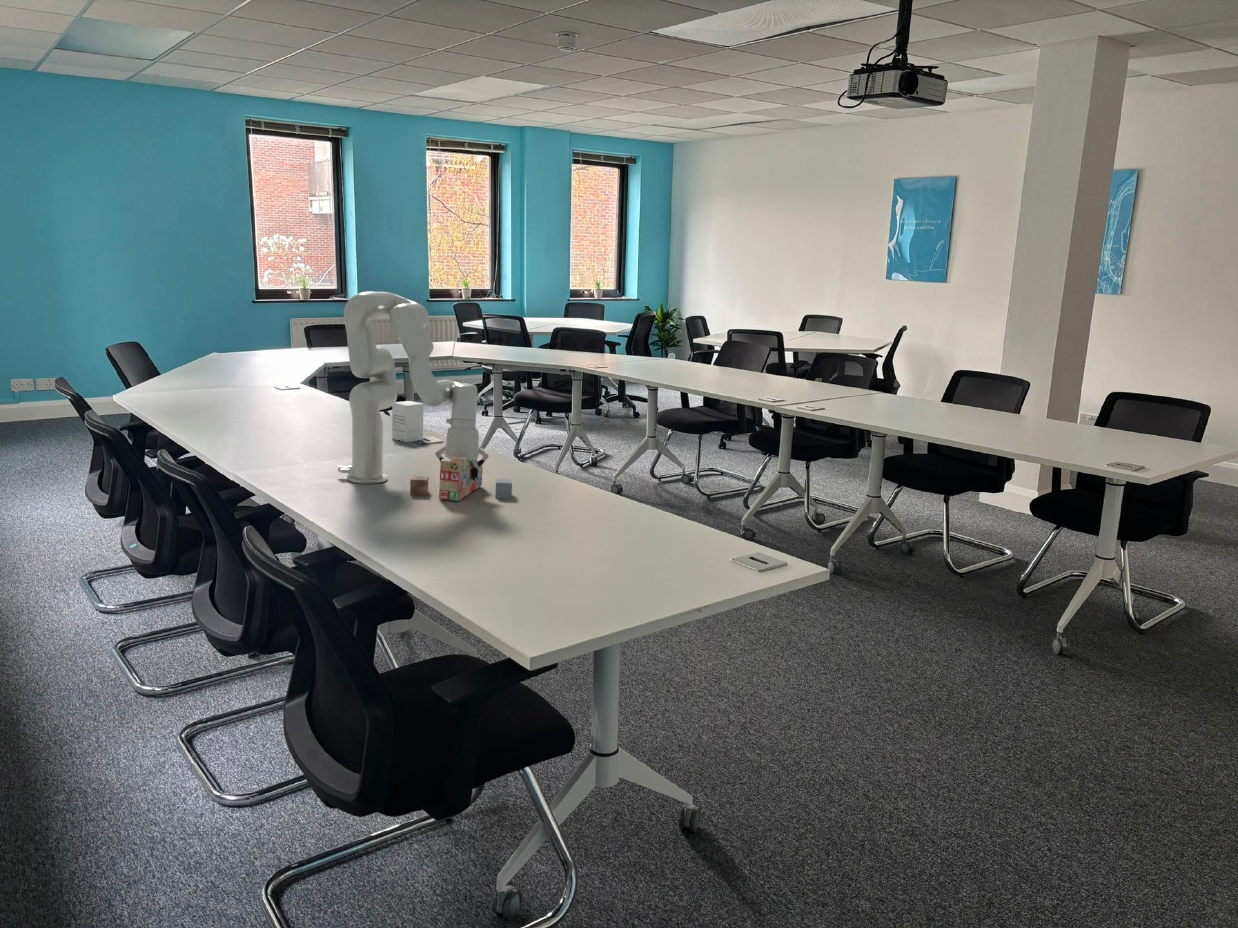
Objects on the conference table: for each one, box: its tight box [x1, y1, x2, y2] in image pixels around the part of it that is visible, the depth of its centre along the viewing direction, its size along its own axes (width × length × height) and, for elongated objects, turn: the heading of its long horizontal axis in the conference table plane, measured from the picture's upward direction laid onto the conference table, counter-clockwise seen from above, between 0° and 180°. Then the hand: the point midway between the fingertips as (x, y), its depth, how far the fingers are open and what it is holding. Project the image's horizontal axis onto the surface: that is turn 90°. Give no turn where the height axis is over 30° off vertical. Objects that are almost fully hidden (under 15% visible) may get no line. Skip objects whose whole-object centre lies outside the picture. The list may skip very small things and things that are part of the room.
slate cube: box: [494, 478, 513, 500], centre depth 277 cm, size 5×5×5 cm
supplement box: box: [391, 400, 424, 443], centre depth 352 cm, size 9×9×15 cm
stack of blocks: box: [438, 456, 484, 502], centre depth 276 cm, size 21×6×12 cm, turn 169°
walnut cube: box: [409, 475, 429, 497], centre depth 274 cm, size 5×5×5 cm
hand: (461, 478), depth 276 cm, fingers closed on stack of blocks, 7 cm apart
